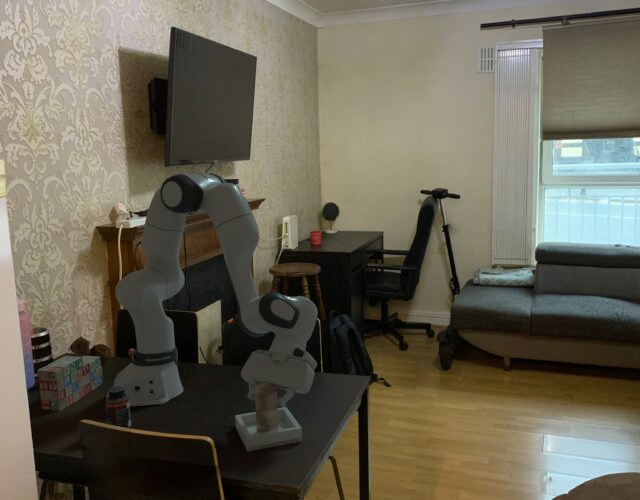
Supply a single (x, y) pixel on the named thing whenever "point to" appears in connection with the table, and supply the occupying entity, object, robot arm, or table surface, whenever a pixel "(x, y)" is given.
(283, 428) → the tray
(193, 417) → the table surface
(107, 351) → the stuffed squirrel
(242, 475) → the table surface
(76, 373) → the stack of blocks
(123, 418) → the supplement bottle
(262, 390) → the handle block
